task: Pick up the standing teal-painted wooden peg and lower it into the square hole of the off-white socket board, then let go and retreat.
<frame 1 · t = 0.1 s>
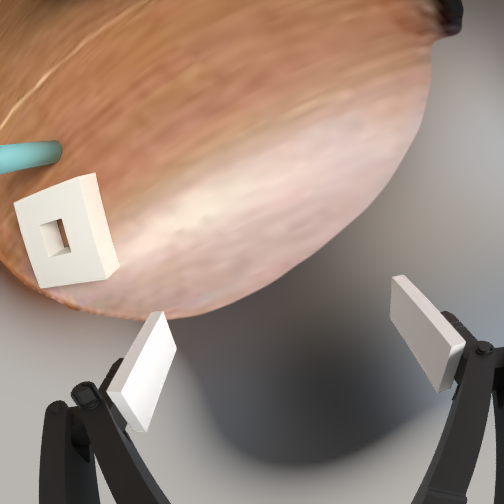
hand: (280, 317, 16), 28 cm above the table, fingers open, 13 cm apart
peg: (53, 152, 39), on the table
socket board: (70, 229, 44), on the table
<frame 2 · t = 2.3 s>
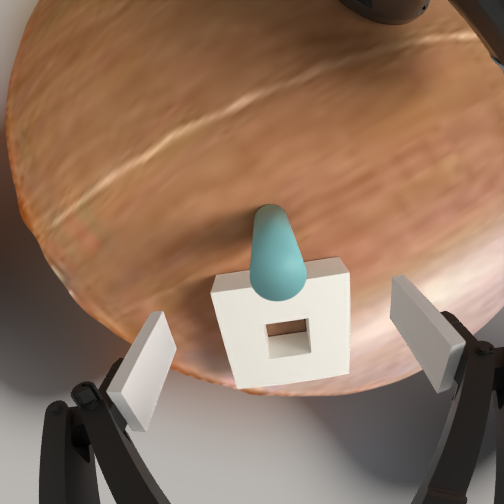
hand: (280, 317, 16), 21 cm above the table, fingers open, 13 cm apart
peg: (270, 220, 36), on the table
socket board: (285, 318, 40), on the table
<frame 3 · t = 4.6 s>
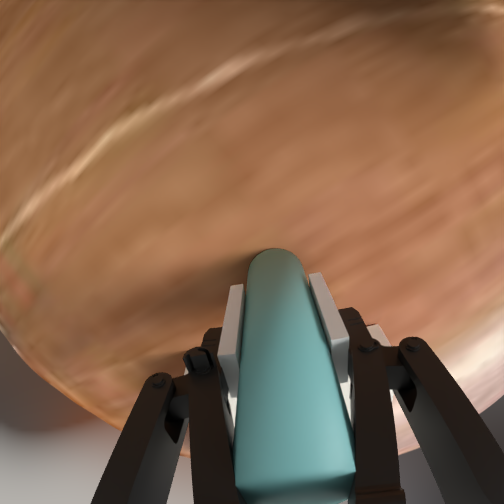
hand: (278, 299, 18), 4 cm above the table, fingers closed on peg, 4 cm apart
peg: (275, 274, 21), on the table, touching gripper
socket board: (293, 402, 26), on the table
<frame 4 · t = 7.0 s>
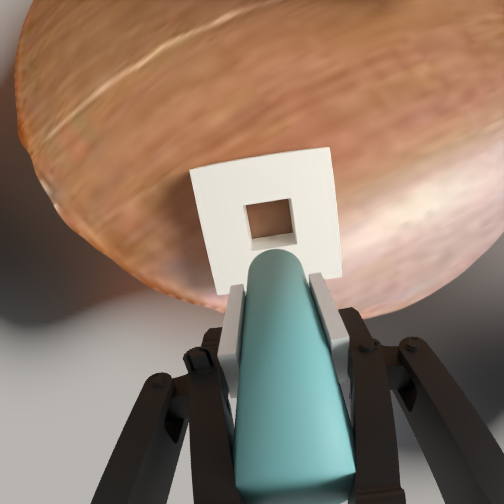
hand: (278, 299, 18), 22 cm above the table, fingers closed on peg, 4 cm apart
peg: (275, 275, 21), point 19 cm above the table, touching gripper
socket board: (269, 215, 39), on the table
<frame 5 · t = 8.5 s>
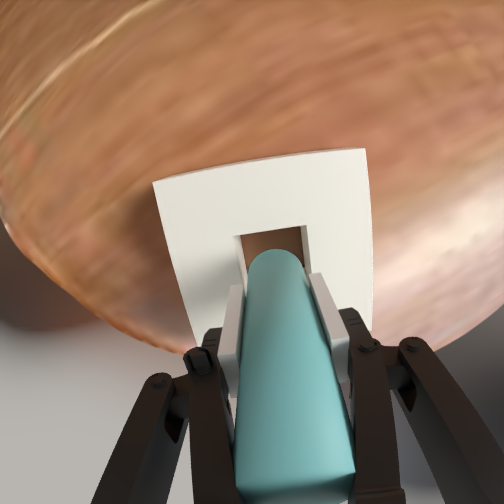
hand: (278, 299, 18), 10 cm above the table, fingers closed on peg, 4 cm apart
peg: (275, 275, 21), point 7 cm above the table, touching gripper
socket board: (272, 244, 28), on the table
when the fingers open (6 cm above the table, at t = 9.6 s): peg drops 2 cm, resting in socket board.
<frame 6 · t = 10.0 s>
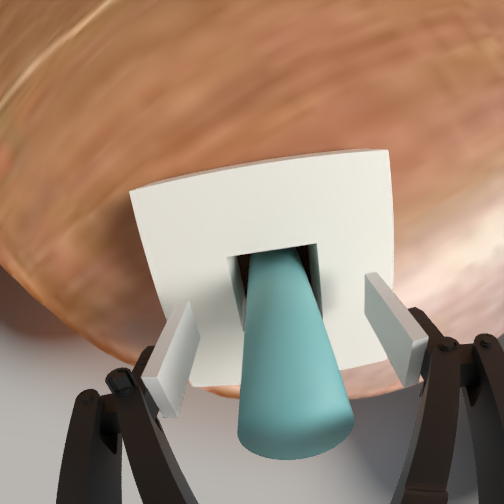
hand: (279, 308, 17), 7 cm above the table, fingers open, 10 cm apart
peg: (274, 261, 24), resting in socket board
socket board: (274, 261, 24), on the table
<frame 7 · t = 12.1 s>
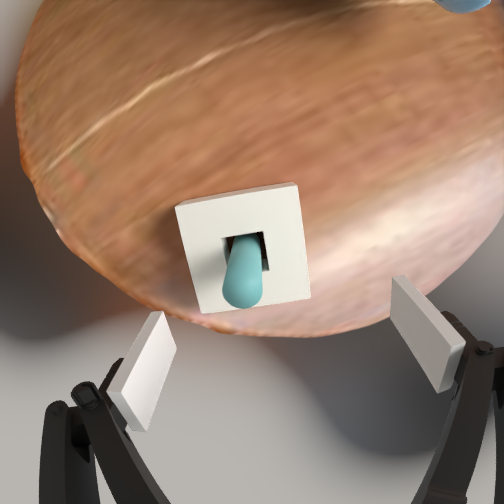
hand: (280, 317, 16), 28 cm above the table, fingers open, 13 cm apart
peg: (246, 243, 44), resting in socket board
socket board: (246, 243, 44), on the table
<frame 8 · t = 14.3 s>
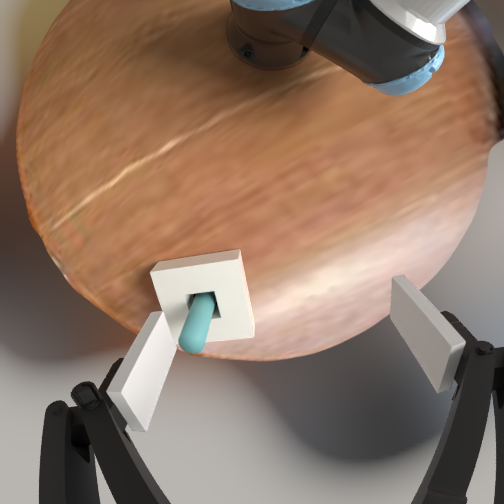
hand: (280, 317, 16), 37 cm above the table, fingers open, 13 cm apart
peg: (207, 293, 57), resting in socket board
socket board: (207, 293, 57), on the table
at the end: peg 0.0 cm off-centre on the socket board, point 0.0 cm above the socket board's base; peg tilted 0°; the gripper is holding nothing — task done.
